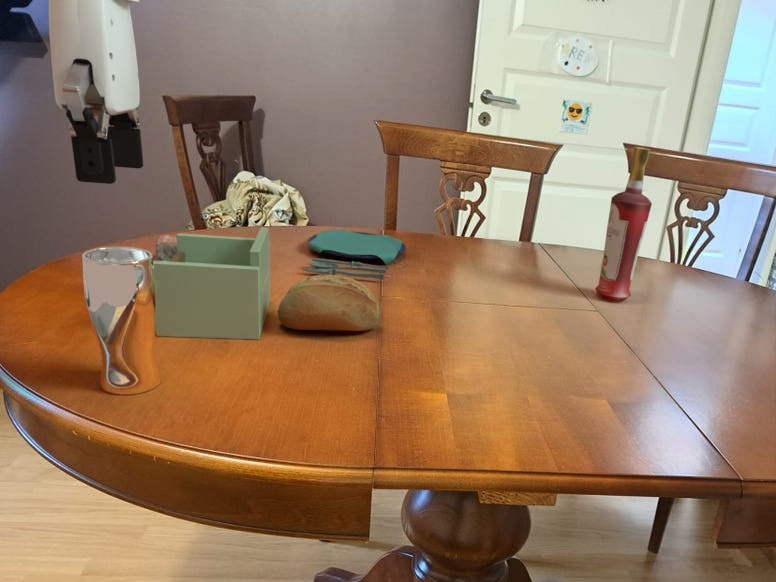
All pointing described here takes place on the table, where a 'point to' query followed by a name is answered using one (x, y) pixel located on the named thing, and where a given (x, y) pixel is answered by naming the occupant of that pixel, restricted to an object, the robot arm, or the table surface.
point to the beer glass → (123, 316)
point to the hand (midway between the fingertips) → (112, 174)
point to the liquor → (624, 233)
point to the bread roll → (330, 305)
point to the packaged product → (166, 248)
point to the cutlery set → (353, 251)
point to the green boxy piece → (214, 287)
